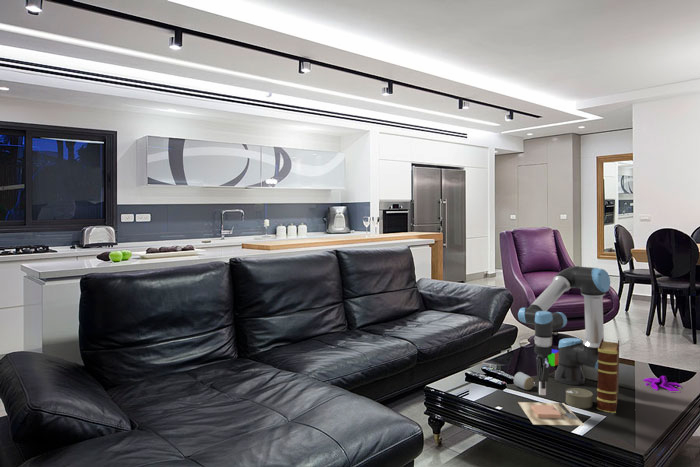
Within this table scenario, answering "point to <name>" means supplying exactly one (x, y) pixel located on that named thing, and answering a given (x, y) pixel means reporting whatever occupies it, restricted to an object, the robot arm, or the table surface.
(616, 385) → the decorative book
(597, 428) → the table surface
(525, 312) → the robot arm
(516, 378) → the grey cylinder
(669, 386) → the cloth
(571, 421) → the board
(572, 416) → the turner
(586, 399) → the beige short cylinder
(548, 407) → the tile
